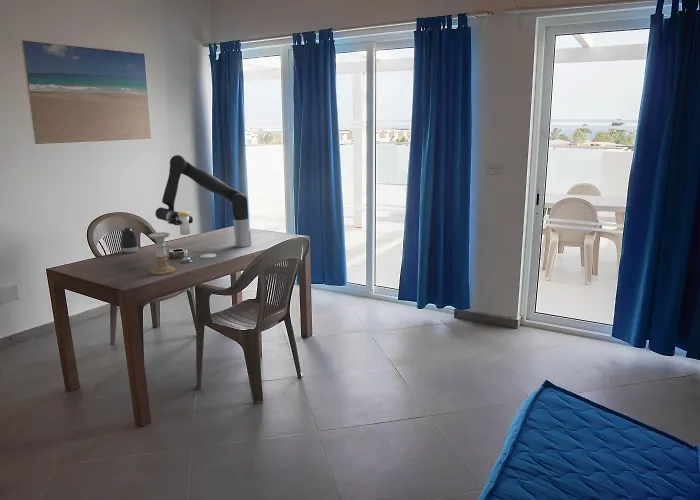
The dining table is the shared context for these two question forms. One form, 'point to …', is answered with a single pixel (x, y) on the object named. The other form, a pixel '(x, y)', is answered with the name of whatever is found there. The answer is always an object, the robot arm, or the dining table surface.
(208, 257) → the coaster
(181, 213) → the glass jar
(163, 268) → the candle holder
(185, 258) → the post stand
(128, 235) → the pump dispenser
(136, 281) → the dining table surface
